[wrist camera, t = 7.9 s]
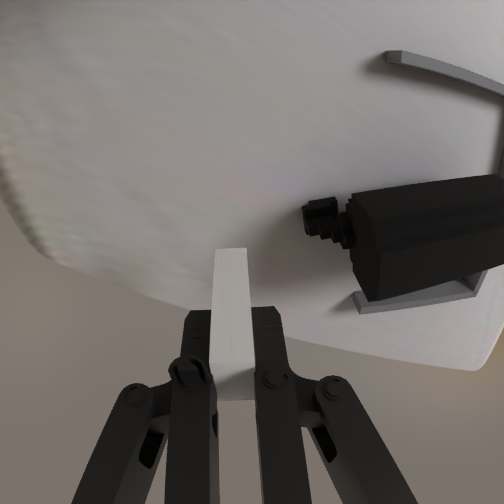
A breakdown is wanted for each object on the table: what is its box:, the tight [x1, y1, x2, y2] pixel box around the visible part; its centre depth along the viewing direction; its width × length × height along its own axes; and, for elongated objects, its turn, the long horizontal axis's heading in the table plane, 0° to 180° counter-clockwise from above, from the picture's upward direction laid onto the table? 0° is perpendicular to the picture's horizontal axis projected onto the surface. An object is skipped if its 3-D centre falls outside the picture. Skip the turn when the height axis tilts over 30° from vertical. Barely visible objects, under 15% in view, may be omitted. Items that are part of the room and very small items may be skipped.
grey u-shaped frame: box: [353, 51, 504, 315], centre depth 25 cm, size 25×17×2 cm
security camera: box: [302, 174, 504, 302], centre depth 22 cm, size 7×18×10 cm, turn 101°
